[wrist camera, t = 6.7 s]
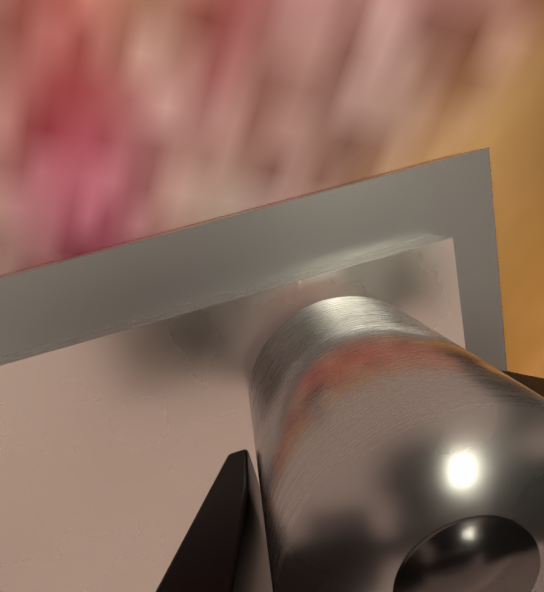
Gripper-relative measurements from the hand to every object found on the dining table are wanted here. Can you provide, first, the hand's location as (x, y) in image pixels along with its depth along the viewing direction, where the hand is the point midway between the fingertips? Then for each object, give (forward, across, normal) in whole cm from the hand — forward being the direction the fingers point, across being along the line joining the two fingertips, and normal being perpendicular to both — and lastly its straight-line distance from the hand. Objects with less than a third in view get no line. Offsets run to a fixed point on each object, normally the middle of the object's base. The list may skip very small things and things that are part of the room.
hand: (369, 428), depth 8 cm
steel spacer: (+2, 0, 0) cm, 2 cm away
